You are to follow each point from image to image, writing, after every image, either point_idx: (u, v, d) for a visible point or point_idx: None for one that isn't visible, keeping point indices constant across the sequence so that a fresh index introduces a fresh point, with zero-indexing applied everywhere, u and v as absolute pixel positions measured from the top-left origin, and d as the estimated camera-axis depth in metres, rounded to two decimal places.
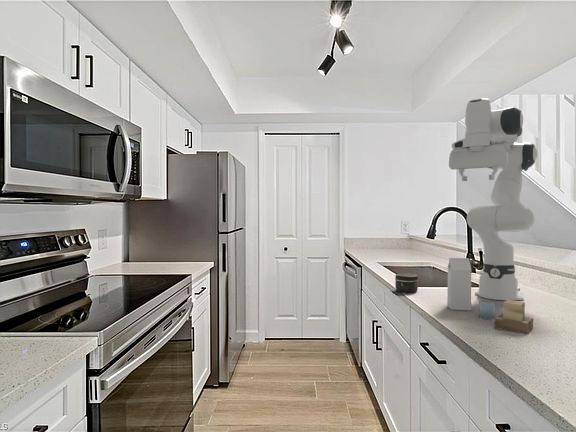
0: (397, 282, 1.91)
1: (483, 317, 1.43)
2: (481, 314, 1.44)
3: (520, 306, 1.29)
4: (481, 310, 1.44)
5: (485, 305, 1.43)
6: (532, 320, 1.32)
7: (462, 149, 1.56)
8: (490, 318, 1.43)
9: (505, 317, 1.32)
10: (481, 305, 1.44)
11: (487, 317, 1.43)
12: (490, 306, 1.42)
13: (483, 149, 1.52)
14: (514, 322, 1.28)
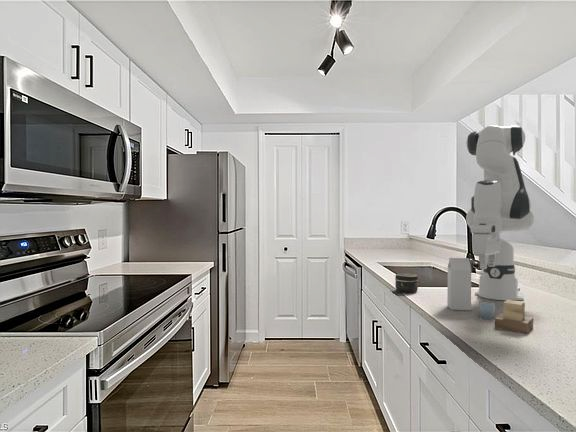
0: (397, 282, 1.91)
1: (483, 317, 1.43)
2: (481, 314, 1.44)
3: (520, 306, 1.29)
4: (481, 310, 1.44)
5: (485, 305, 1.43)
6: (532, 320, 1.32)
7: (492, 234, 1.39)
8: (490, 318, 1.43)
9: (505, 317, 1.32)
10: (481, 305, 1.44)
11: (487, 317, 1.43)
12: (490, 306, 1.42)
13: None
14: (514, 322, 1.28)
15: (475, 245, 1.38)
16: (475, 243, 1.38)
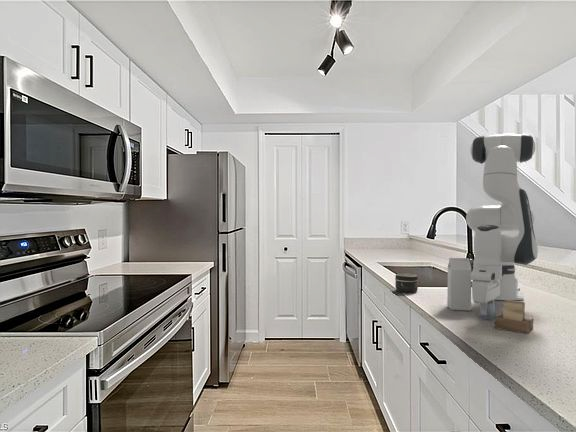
0: (397, 282, 1.91)
1: (483, 317, 1.43)
2: (481, 314, 1.44)
3: (520, 306, 1.29)
4: None
5: None
6: (532, 320, 1.32)
7: (492, 282, 1.39)
8: (490, 318, 1.43)
9: (505, 317, 1.32)
10: None
11: (487, 317, 1.43)
12: (490, 306, 1.43)
13: None
14: (514, 322, 1.28)
15: (475, 292, 1.38)
16: (475, 291, 1.38)
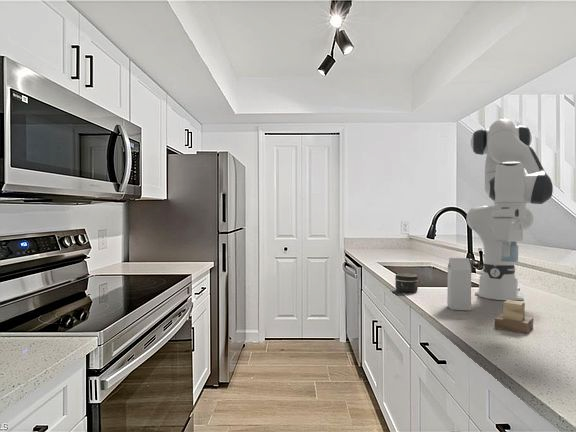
0: (397, 282, 1.91)
1: (505, 260, 1.32)
2: (503, 257, 1.33)
3: (520, 306, 1.29)
4: None
5: None
6: (532, 320, 1.32)
7: (516, 219, 1.28)
8: (513, 260, 1.31)
9: (505, 317, 1.32)
10: None
11: (510, 259, 1.31)
12: (513, 247, 1.31)
13: None
14: (514, 322, 1.28)
15: (497, 230, 1.27)
16: (497, 228, 1.27)
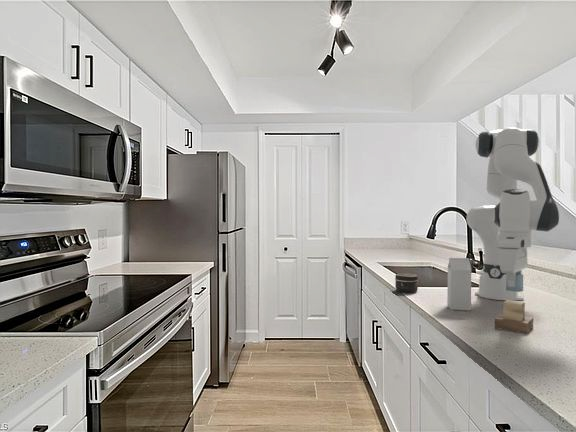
0: (397, 282, 1.91)
1: (510, 289, 1.31)
2: (508, 286, 1.31)
3: (520, 306, 1.29)
4: None
5: None
6: (532, 320, 1.32)
7: (521, 249, 1.27)
8: (518, 290, 1.30)
9: (505, 317, 1.32)
10: None
11: (515, 289, 1.30)
12: (518, 277, 1.30)
13: None
14: (514, 322, 1.28)
15: (502, 261, 1.25)
16: (502, 259, 1.25)
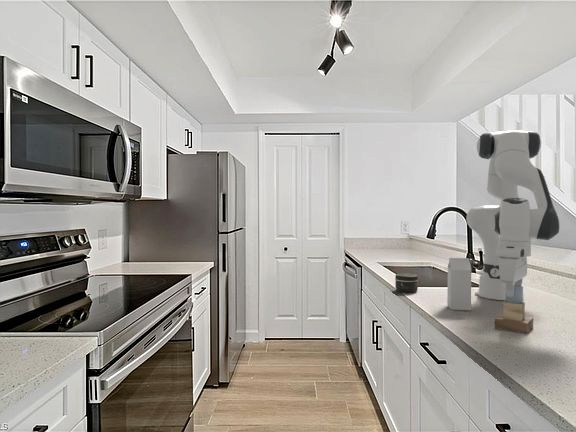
0: (397, 282, 1.91)
1: (510, 301, 1.31)
2: (508, 298, 1.32)
3: (520, 306, 1.29)
4: None
5: None
6: (532, 320, 1.32)
7: (521, 259, 1.27)
8: (518, 302, 1.30)
9: (505, 317, 1.32)
10: None
11: (514, 301, 1.30)
12: (518, 289, 1.30)
13: None
14: (514, 322, 1.28)
15: (502, 270, 1.25)
16: (502, 269, 1.25)
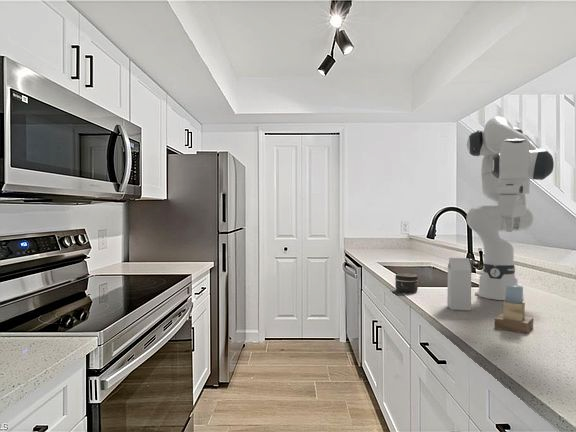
0: (397, 282, 1.91)
1: (510, 301, 1.31)
2: (508, 298, 1.32)
3: (520, 306, 1.29)
4: (508, 294, 1.32)
5: (512, 288, 1.30)
6: (532, 320, 1.32)
7: (520, 195, 1.33)
8: (518, 302, 1.30)
9: (505, 317, 1.32)
10: (508, 288, 1.32)
11: (514, 301, 1.30)
12: (518, 289, 1.30)
13: None
14: (514, 322, 1.28)
15: (502, 206, 1.31)
16: (502, 204, 1.31)
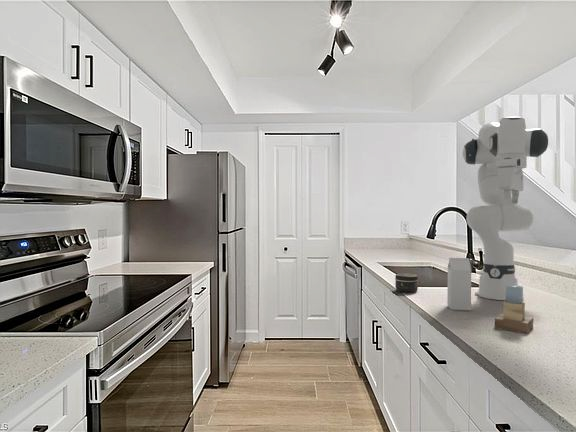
0: (397, 282, 1.91)
1: (510, 301, 1.31)
2: (508, 298, 1.32)
3: (520, 306, 1.29)
4: (508, 294, 1.32)
5: (512, 288, 1.30)
6: (532, 320, 1.32)
7: (517, 168, 1.40)
8: (518, 302, 1.30)
9: (505, 317, 1.32)
10: (508, 288, 1.32)
11: (514, 301, 1.30)
12: (518, 289, 1.30)
13: None
14: (514, 322, 1.28)
15: (500, 178, 1.38)
16: (500, 176, 1.38)
